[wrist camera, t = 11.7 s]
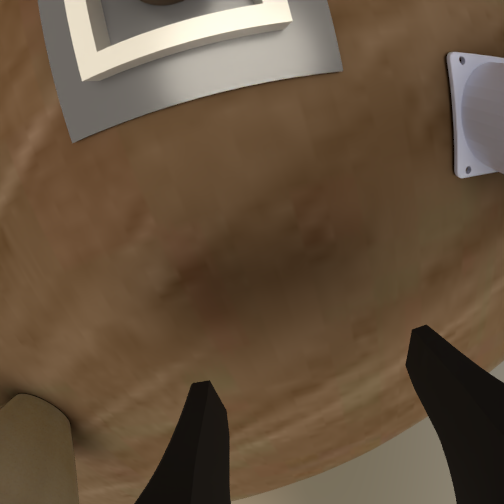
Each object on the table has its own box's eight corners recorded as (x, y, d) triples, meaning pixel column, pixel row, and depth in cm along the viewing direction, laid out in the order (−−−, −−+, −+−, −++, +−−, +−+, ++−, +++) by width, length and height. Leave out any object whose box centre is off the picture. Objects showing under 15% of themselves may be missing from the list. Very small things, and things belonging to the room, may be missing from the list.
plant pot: (126, 441, 29) (114, 565, 16) (49, 444, 31) (28, 539, 17) (33, 359, 22) (-21, 513, 8) (-30, 375, 24) (-73, 480, 10)
